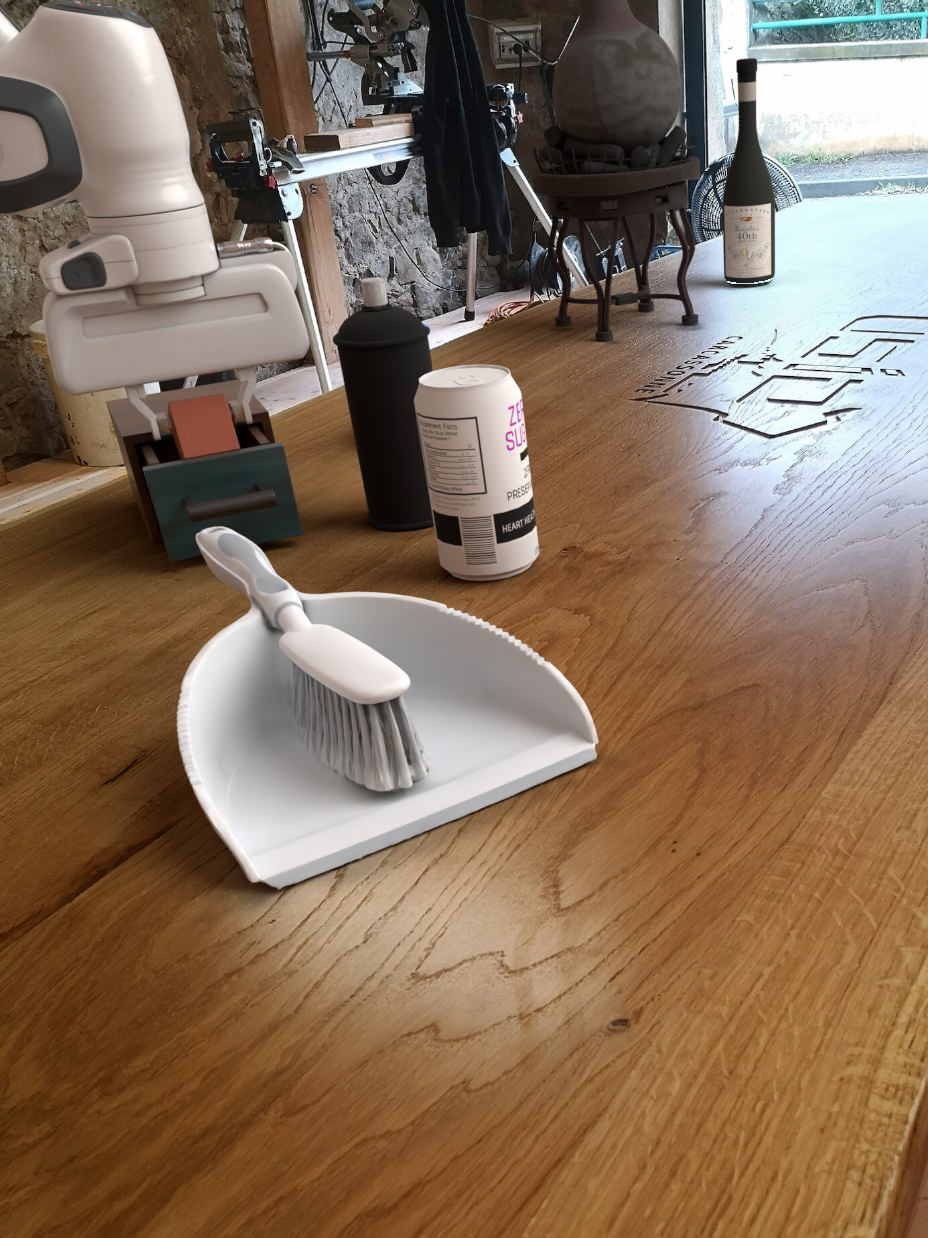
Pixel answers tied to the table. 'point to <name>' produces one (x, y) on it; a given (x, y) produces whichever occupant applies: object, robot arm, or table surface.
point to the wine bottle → (748, 195)
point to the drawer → (221, 492)
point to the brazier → (616, 150)
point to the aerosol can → (387, 406)
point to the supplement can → (477, 471)
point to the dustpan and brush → (359, 719)
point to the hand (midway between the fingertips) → (203, 430)
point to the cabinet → (137, 430)
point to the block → (202, 426)
